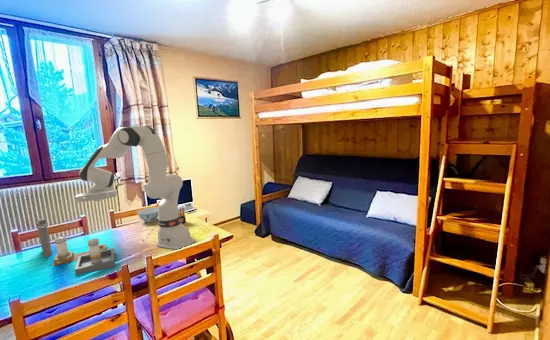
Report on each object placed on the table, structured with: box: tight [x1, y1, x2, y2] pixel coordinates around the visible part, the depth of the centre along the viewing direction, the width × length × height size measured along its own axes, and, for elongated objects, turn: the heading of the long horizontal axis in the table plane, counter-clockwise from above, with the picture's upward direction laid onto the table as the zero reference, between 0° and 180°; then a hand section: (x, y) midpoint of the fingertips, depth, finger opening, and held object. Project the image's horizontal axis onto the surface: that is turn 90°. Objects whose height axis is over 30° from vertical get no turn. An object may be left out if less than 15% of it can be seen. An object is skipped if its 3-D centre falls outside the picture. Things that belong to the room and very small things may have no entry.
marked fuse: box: [87, 238, 102, 264], centre depth 141 cm, size 5×5×12 cm
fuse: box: [54, 236, 70, 258], centre depth 146 cm, size 5×5×12 cm
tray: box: [74, 248, 116, 275], centre depth 142 cm, size 16×16×4 cm
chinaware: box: [137, 207, 159, 223], centre depth 204 cm, size 15×15×8 cm
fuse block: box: [51, 243, 109, 267], centre depth 151 cm, size 24×10×4 cm, turn 119°
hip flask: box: [36, 218, 53, 258], centre depth 157 cm, size 16×4×20 cm, turn 44°
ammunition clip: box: [178, 206, 187, 224], centre depth 194 cm, size 11×2×12 cm, turn 122°
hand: (95, 198), depth 155 cm, fingers open, 8 cm apart
